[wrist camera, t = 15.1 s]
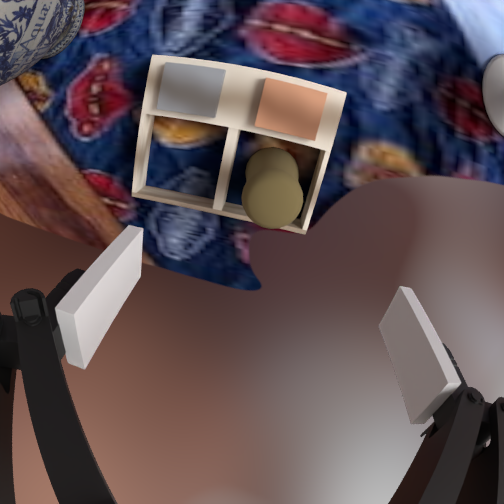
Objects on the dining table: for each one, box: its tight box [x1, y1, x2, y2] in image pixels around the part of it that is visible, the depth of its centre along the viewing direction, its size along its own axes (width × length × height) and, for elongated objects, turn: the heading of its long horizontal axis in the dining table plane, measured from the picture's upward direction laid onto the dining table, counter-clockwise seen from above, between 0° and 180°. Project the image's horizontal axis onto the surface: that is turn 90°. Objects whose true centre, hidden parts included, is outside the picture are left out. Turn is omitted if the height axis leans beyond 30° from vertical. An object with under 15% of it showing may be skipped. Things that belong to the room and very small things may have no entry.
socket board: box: [132, 55, 347, 234], centre depth 32 cm, size 16×20×4 cm
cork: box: [241, 147, 303, 229], centre depth 30 cm, size 6×6×11 cm
